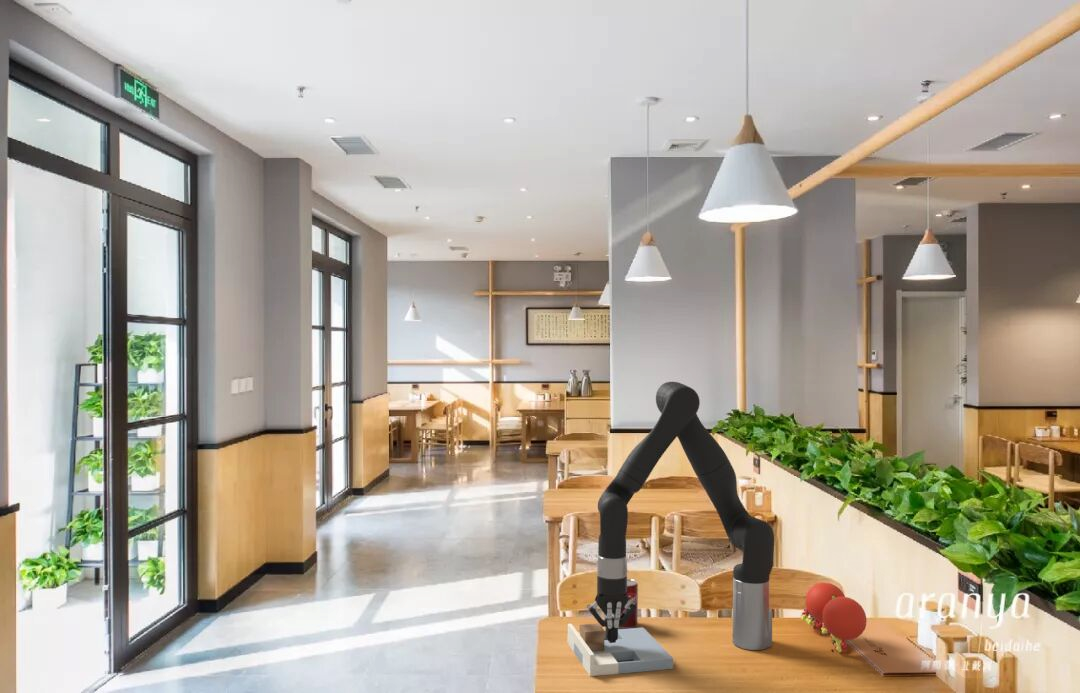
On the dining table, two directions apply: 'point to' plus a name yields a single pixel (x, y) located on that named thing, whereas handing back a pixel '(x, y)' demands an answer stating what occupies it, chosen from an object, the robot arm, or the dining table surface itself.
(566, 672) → the dining table surface
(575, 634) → the end stop
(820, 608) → the red round cluster
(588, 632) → the walnut block
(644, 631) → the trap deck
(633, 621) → the soda can
